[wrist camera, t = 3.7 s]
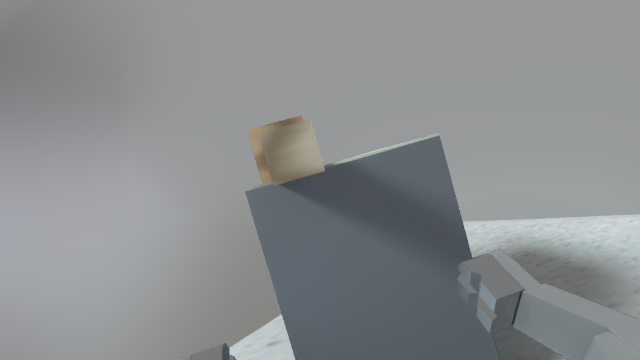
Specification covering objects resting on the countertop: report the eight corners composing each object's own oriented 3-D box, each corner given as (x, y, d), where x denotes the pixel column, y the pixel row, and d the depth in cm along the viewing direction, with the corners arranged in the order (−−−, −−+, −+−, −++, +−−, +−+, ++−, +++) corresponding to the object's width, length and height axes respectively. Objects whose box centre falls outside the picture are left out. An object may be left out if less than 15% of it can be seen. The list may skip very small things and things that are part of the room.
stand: (331, 479, 26) (244, 189, 25) (310, 356, 44) (259, 183, 43) (511, 405, 28) (438, 133, 27) (422, 316, 46) (375, 150, 45)
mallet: (246, 193, 17) (215, 86, 17) (265, 183, 40) (252, 138, 40) (350, 163, 18) (321, 60, 18) (311, 170, 41) (298, 125, 40)
